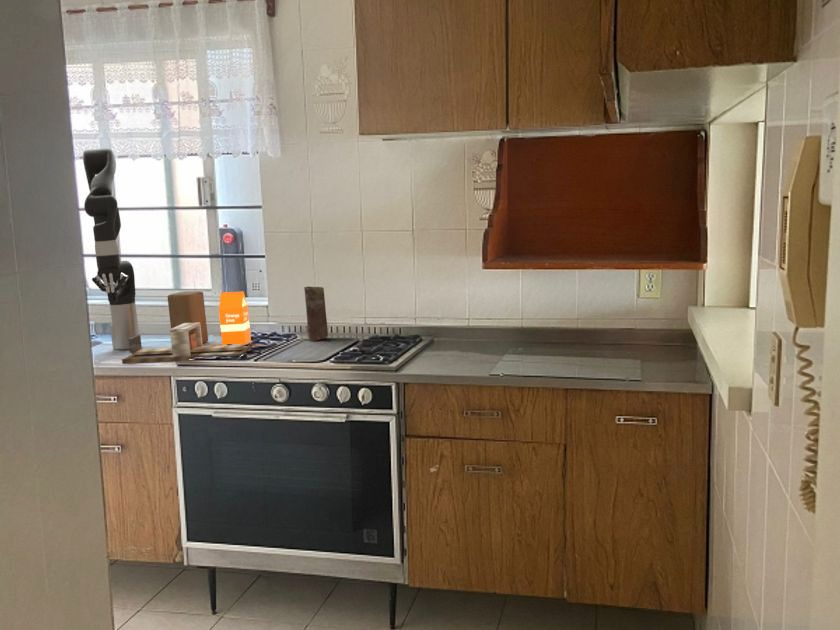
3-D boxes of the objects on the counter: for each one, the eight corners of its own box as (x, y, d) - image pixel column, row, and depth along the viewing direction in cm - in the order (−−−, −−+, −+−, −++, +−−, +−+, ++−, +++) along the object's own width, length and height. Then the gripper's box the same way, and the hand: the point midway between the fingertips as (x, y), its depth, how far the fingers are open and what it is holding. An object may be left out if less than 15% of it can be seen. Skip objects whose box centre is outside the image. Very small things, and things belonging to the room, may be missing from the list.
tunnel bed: (122, 363, 276) (118, 332, 274) (139, 355, 289) (136, 325, 288) (240, 358, 272) (237, 326, 270) (252, 349, 286) (249, 319, 284)
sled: (130, 355, 279) (128, 338, 278) (138, 351, 286) (136, 335, 285) (239, 350, 275) (237, 333, 274) (245, 346, 282) (243, 329, 281)
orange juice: (246, 346, 293) (240, 292, 290) (222, 348, 293) (216, 294, 290) (251, 342, 300) (246, 290, 297) (228, 343, 301) (223, 291, 298)
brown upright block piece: (309, 338, 302) (305, 285, 299) (329, 336, 302) (324, 284, 299) (307, 342, 294) (303, 288, 291) (327, 340, 294) (323, 286, 291)
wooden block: (172, 347, 301) (166, 294, 298) (186, 342, 311) (181, 291, 308) (195, 347, 298) (189, 294, 295) (209, 342, 308) (204, 290, 305)
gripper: (83, 255, 274) (90, 305, 277) (120, 253, 273) (126, 303, 275) (94, 254, 281) (100, 302, 284) (130, 251, 280) (136, 300, 283)
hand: (113, 303), depth 280 cm, fingers closed
